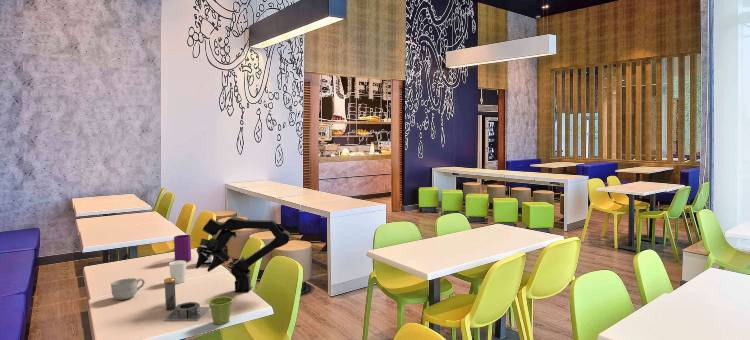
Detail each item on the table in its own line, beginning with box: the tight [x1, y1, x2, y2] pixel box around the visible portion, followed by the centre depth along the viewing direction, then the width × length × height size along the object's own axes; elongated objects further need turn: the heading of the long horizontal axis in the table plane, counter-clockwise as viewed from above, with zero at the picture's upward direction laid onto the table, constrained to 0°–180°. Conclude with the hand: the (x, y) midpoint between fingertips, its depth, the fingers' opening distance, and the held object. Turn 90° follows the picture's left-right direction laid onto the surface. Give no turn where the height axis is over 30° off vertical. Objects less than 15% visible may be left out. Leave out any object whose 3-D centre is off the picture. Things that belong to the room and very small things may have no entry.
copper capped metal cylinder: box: [163, 277, 177, 311], centre depth 203 cm, size 4×4×13 cm
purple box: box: [173, 234, 192, 263], centre depth 284 cm, size 9×16×15 cm, turn 34°
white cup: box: [168, 260, 187, 284], centre depth 241 cm, size 8×8×10 cm
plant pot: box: [207, 296, 234, 325], centre depth 188 cm, size 9×9×9 cm
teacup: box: [110, 277, 146, 301], centre depth 219 cm, size 14×11×8 cm
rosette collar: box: [162, 301, 211, 322], centre depth 197 cm, size 14×14×4 cm
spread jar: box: [201, 245, 213, 266], centre depth 274 cm, size 12×11×12 cm
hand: (202, 269), depth 215 cm, fingers open, 9 cm apart
